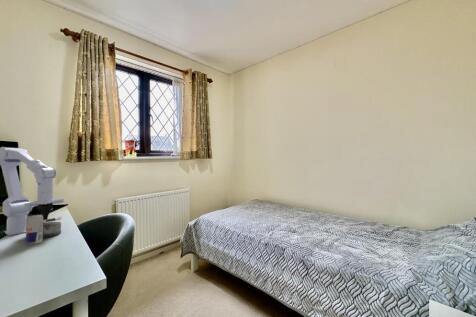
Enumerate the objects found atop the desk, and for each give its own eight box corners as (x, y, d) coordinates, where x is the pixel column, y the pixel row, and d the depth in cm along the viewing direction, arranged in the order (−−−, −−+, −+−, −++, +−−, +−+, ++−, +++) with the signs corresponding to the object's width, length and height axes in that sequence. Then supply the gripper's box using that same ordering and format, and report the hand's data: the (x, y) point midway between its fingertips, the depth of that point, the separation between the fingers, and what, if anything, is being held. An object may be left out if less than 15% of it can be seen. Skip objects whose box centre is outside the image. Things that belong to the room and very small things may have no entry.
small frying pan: (21, 226, 106) (21, 223, 106) (55, 220, 117) (55, 217, 117) (33, 224, 96) (33, 221, 96) (69, 218, 107) (69, 215, 107)
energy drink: (23, 244, 96) (24, 216, 96) (39, 240, 101) (39, 214, 101) (29, 246, 93) (29, 218, 94) (44, 242, 98) (45, 215, 98)
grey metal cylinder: (22, 236, 105) (22, 226, 106) (55, 229, 116) (55, 220, 116) (30, 241, 98) (30, 230, 98) (65, 233, 109) (65, 224, 109)
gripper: (27, 194, 99) (27, 224, 99) (66, 190, 111) (65, 217, 111) (23, 193, 103) (22, 221, 103) (60, 190, 115) (60, 215, 115)
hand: (44, 219), depth 107 cm, fingers closed, pressing on small frying pan
